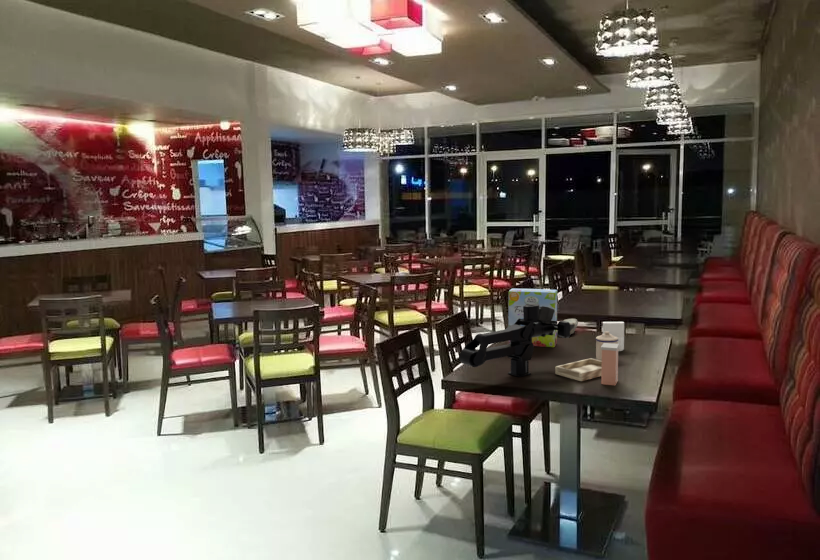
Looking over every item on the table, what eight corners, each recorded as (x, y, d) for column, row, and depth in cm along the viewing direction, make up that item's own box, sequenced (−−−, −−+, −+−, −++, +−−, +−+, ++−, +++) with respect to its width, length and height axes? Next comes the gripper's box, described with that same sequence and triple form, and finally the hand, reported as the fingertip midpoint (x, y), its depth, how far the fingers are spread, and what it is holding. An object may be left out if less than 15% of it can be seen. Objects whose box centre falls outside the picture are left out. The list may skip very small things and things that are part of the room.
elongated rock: (581, 326, 355) (562, 326, 358) (580, 316, 354) (561, 316, 358) (574, 336, 322) (553, 336, 325) (573, 325, 321) (552, 326, 325)
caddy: (600, 384, 246) (600, 347, 244) (603, 379, 252) (603, 342, 250) (616, 385, 243) (616, 348, 242) (618, 380, 250) (619, 343, 248)
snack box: (507, 345, 310) (507, 290, 306) (510, 341, 318) (510, 287, 314) (555, 347, 303) (555, 291, 299) (557, 343, 311) (557, 288, 308)
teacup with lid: (617, 362, 275) (618, 334, 274) (594, 361, 278) (595, 333, 276) (618, 355, 287) (618, 328, 285) (596, 354, 289) (596, 327, 288)
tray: (581, 381, 250) (581, 373, 250) (555, 373, 261) (555, 366, 260) (616, 372, 261) (616, 364, 261) (590, 365, 272) (590, 358, 271)
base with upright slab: (621, 346, 302) (621, 320, 300) (625, 351, 293) (626, 324, 291) (601, 346, 303) (601, 320, 301) (604, 351, 294) (605, 324, 292)
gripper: (554, 312, 256) (583, 307, 265) (521, 306, 272) (548, 301, 280) (554, 340, 258) (582, 335, 266) (521, 333, 273) (548, 327, 282)
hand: (565, 324), depth 273 cm, fingers open, 9 cm apart
